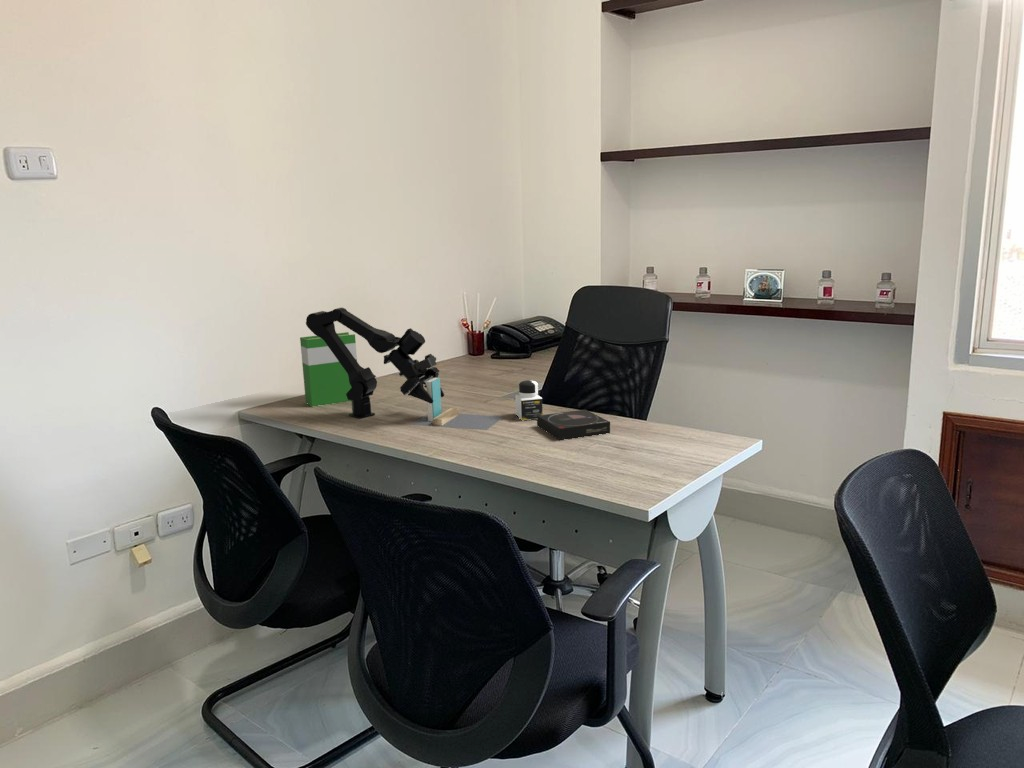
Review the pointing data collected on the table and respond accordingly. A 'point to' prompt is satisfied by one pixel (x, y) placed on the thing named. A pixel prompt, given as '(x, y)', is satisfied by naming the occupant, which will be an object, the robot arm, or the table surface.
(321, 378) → the hardback book
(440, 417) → the ledge
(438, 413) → the tile
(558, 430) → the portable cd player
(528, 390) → the medicine bottle
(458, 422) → the mat
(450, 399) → the table surface
